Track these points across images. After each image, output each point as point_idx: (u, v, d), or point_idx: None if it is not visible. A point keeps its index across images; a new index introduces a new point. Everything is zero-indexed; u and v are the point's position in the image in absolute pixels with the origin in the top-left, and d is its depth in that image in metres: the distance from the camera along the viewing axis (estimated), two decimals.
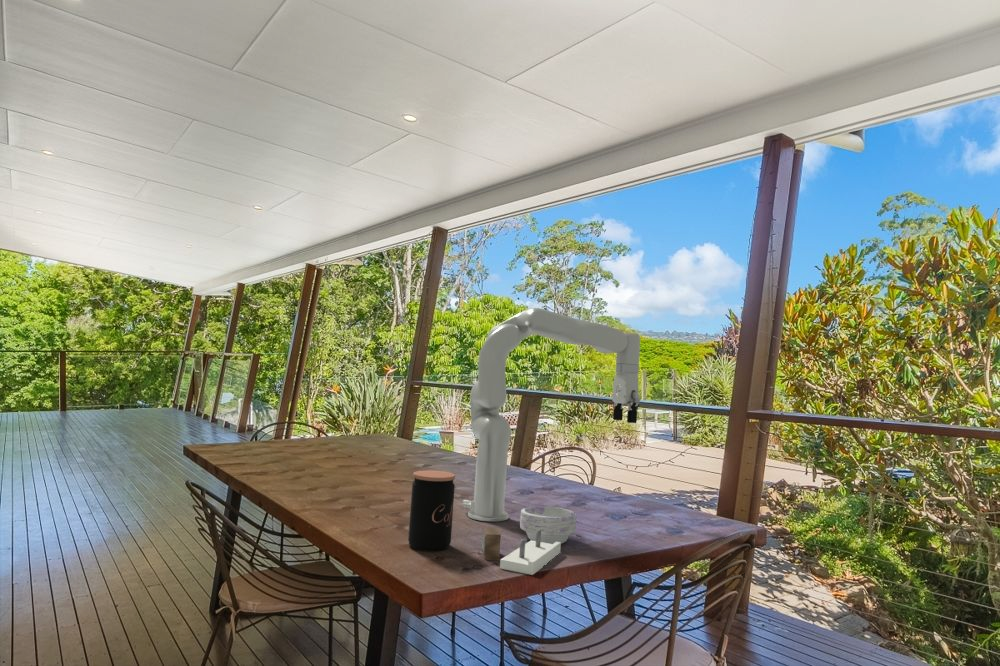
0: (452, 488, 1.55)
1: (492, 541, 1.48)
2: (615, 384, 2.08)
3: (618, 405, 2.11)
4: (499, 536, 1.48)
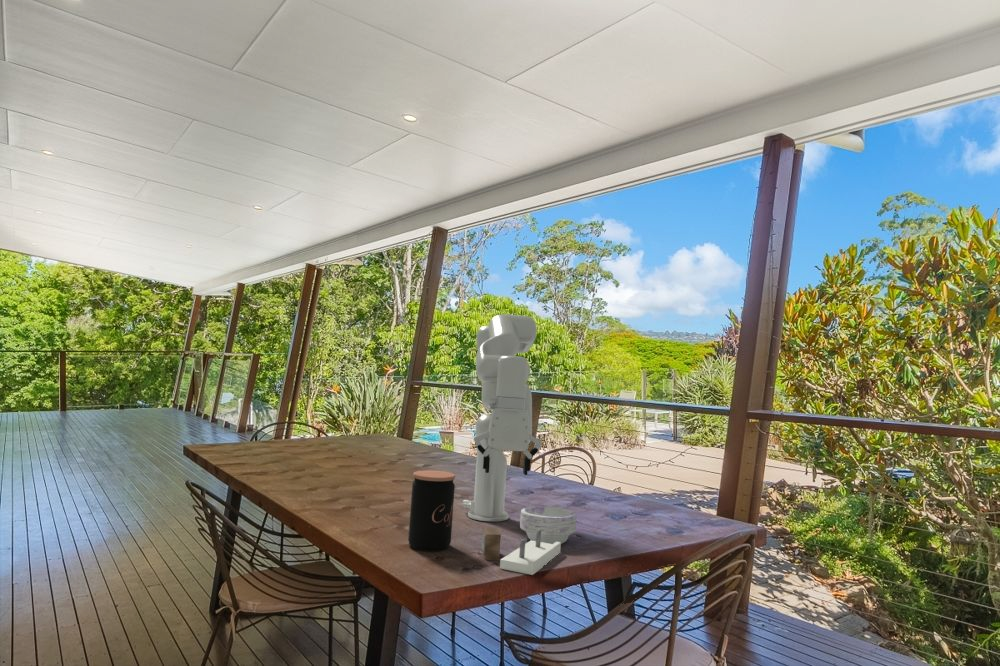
0: (452, 488, 1.55)
1: (492, 541, 1.48)
2: (500, 425, 1.54)
3: None
4: (499, 536, 1.48)
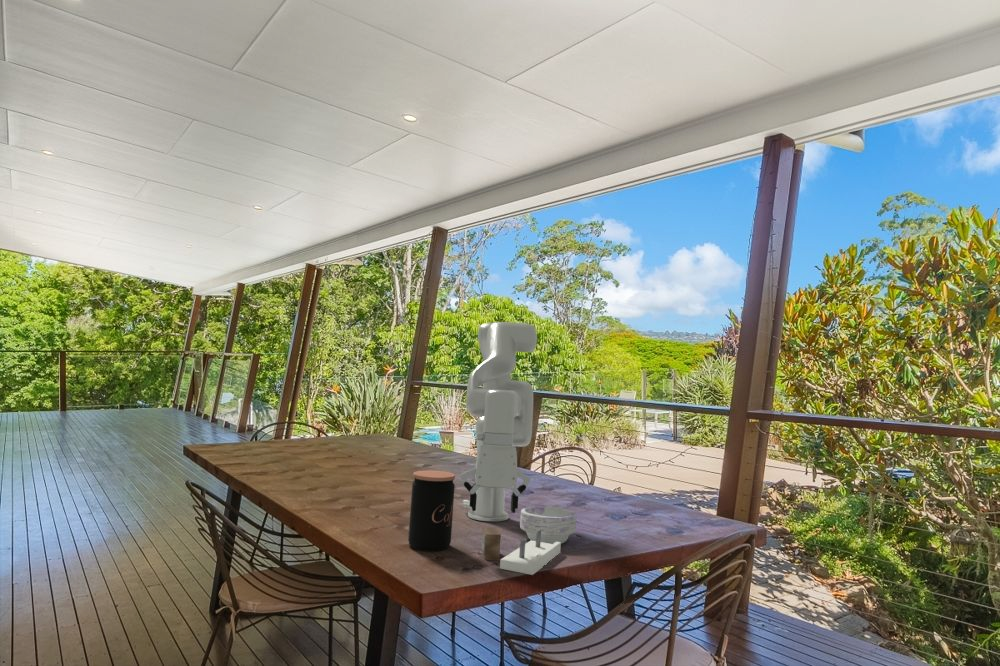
0: (452, 488, 1.55)
1: (492, 541, 1.48)
2: (487, 461, 1.50)
3: None
4: (499, 536, 1.48)
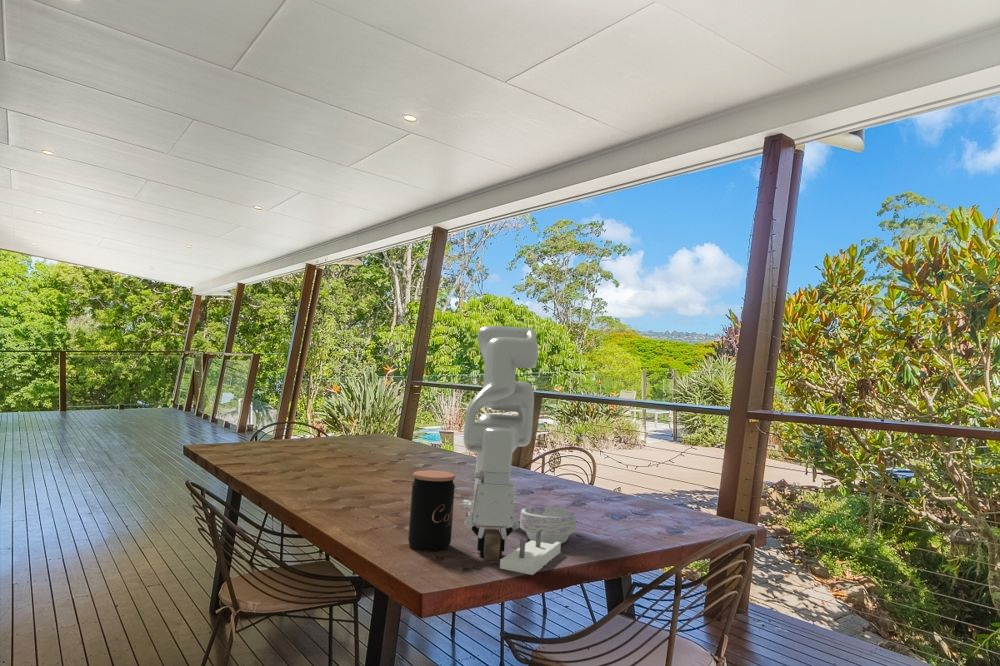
0: (452, 488, 1.55)
1: (492, 541, 1.48)
2: (484, 501, 1.49)
3: None
4: (499, 536, 1.48)
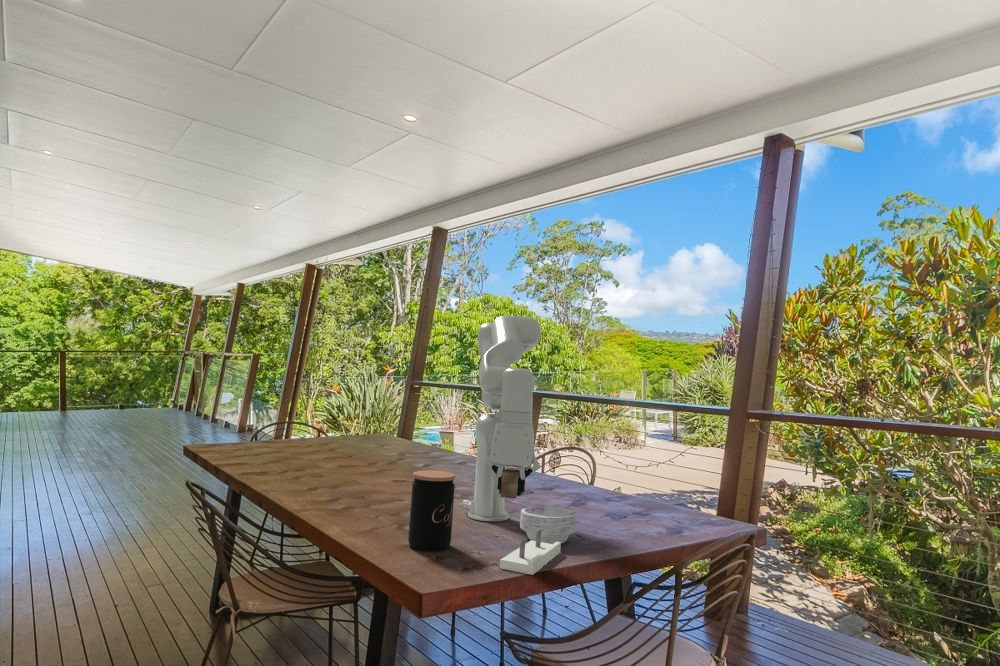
0: (452, 488, 1.55)
1: (508, 479, 1.48)
2: (501, 439, 1.50)
3: None
4: (515, 475, 1.48)
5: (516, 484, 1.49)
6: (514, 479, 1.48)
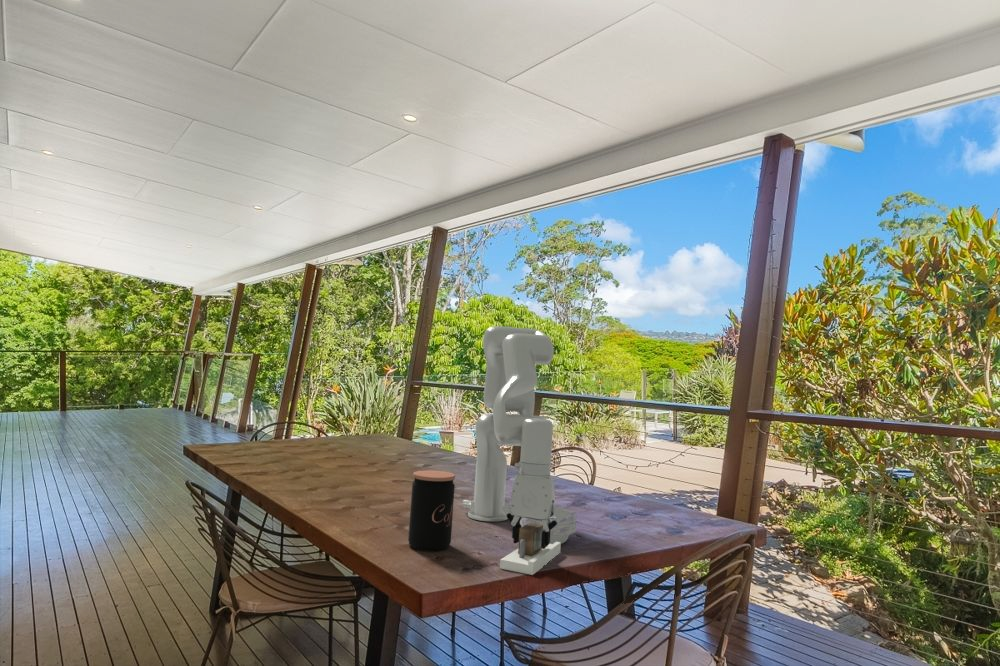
0: (452, 488, 1.55)
1: (525, 536, 1.47)
2: (520, 491, 1.49)
3: (517, 521, 1.52)
4: (532, 532, 1.46)
5: (534, 541, 1.47)
6: (531, 536, 1.46)
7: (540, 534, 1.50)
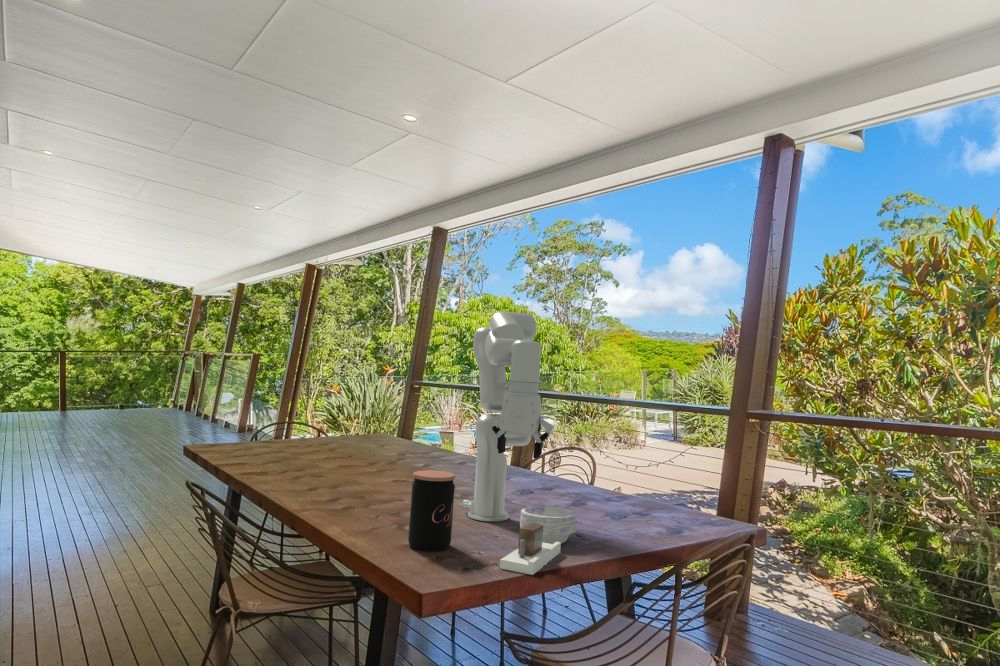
0: (452, 488, 1.55)
1: (525, 536, 1.47)
2: (509, 408, 1.58)
3: None
4: (532, 532, 1.46)
5: (534, 541, 1.47)
6: (531, 536, 1.46)
7: (540, 534, 1.50)
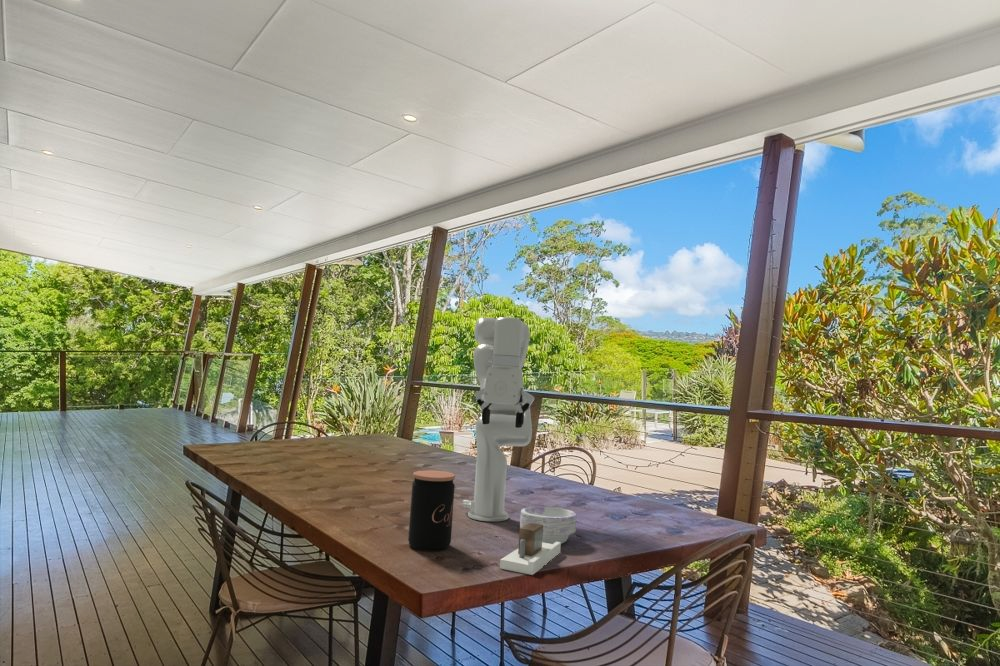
0: (452, 488, 1.55)
1: (525, 536, 1.47)
2: (492, 380, 1.67)
3: (486, 405, 1.71)
4: (532, 532, 1.46)
5: (534, 541, 1.47)
6: (531, 536, 1.46)
7: (540, 534, 1.50)
